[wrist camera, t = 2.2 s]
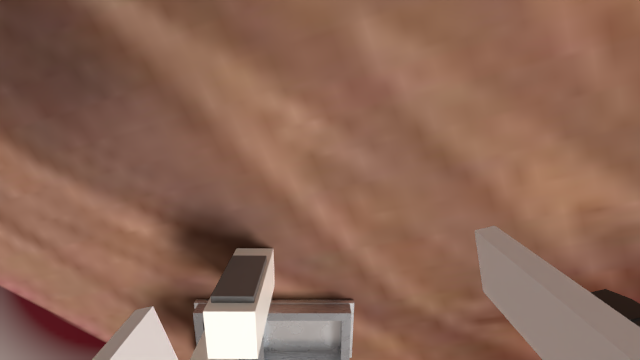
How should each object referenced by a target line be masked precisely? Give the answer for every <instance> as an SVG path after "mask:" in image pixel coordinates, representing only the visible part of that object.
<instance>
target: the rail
mask: <svg viewBox="0 0 640 360" xmlns="http://www.w3.org/2000/svg"><path fill="white" fill-rule="evenodd" d="M208 301H209V299H196V300H195V302H194V308H195V310H194V312H193V319H194V328H195V336H196V345H197V344H198V342H199V340H200V338H201V336H202V334H203V332H204V330H205V327H204V318H203V310H204V308H205V306H206V305H207V303H208ZM353 317H354V300H271V303H270V307H269V312H268V316H267V320H266V325H265V329H264V334H263V338H262V343H261V347H260V351H259V356H258V359H253V360H349V358H352V338H353Z"/></svg>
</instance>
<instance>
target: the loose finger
mask: <svg viewBox="0 0 640 360" xmlns="http://www.w3.org/2000/svg"><path fill="white" fill-rule="evenodd" d="M274 285H275V282H274V252H273V248H236V250H235V252H234V254H233V255H232V257H231V259H230V261H229V263H228V265H227V267H226V268H225V270H224V272H223V274H222V276H221V278H220V280H219V282H218V283H217V285H216V287H215V289H214V291H213V293H212V295H211V297H210V299H209V301H208V303H207V305H206V306H205V308H204V310H203V318H204V327H205V337H206V346H207V355H208V359H258V356H259V351H260V347H261V343H262V338H263V334H264V329H265V325H266V320H267V316H268V312H269V307H270V303H271V298H272V294H273V289H274Z"/></svg>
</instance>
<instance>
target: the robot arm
mask: <svg viewBox="0 0 640 360" xmlns="http://www.w3.org/2000/svg"><path fill="white" fill-rule="evenodd" d="M475 236H476V243H477V251H478V258H479V265H480V272H481V280H482V287H483V292H484V293H485V294H486V295H487V296H488V298H489V299H490V300H491V301H492V302H493V303H494V304H495V306H496V307H497V308H498V309H499V310H500V311H501V312H502V314H503V315H504V316H505V317H506V318H507V319H508V321H509V322H510V323H511V324H512V325H513V326H514V327H515V329H516V330H517V331H518V332H519V333H520V334H521V335H522V337H523V338H524V339H525V340H526V341H527V342H528V343H529V345H530V346H531V347H532V348H533V349H534V350H535V352H536V353H537V354H538V355H539V356H540V357H541V358H542V360H640V304H639V303H637V302H636V301H634V300H632V299H630V298H627V297H625V296H622V295H620V294H617V293H614V292H612V291H609V290H607V289H604V290H599V291H595V292H589V291H587V290H586V289H584V288H583V287H582V286H580V285H579V284H577V283H576V282H574V281H573V280H572V279H570V278H569V277H567V276H566V275H564V274H563V273H562V272H560V271H559V270H557V269H556V268H555V267H553V266H552V265H550V264H549V263H547V262H546V261H545V260H543V259H542V258H540V257H539V256H537V255H536V254H535V253H533V252H532V251H530V250H529V249H527V248H526V247H525V246H523V245H522V244H520V243H519V242H517V241H516V240H515V239H513V238H512V237H510V236H509V235H507V234H506V233H505V232H503V231H502V230H500V229H499V228H497V227H496V226H491V227H487V228H483V229H478V230H475ZM92 360H178V358H177V356H176V354H175V352H174V350H173V348H172V346H171V343H170V341H169V339H168V337H167V335H166V333H165V331H164V328H163V326H162V324H161V322H160V320H159V318H158V316H157V313H156V311H155V309H154V307H153V306H151V307H147V308H142V309H138V310H135V311H134V312H133V314H132V315H131V316H130V317H129V318H128V319H127V320H126V322H125V323H124V324H123V325H122V326H121V327H120V328H119V330H118V331H117V332H116V333H115V334H114V335H113V336H112V338H111V339H110V340H109V341H108V342H107V343H106V344H105V346H104V347H103V348H102V349H101V350H100V351H99V352H98V354H97V355H96V356H95V357H94V358H93V359H92Z"/></svg>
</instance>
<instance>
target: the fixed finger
mask: <svg viewBox="0 0 640 360" xmlns="http://www.w3.org/2000/svg"><path fill="white" fill-rule="evenodd" d="M190 360H253V359H208V355H207V346H206V337H205V330H204V332H203V334H202V336H201V338H200V340H199V342H198V344H197V346H196V348H195V350H194V352H193V355H192V357H191V359H190Z"/></svg>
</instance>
